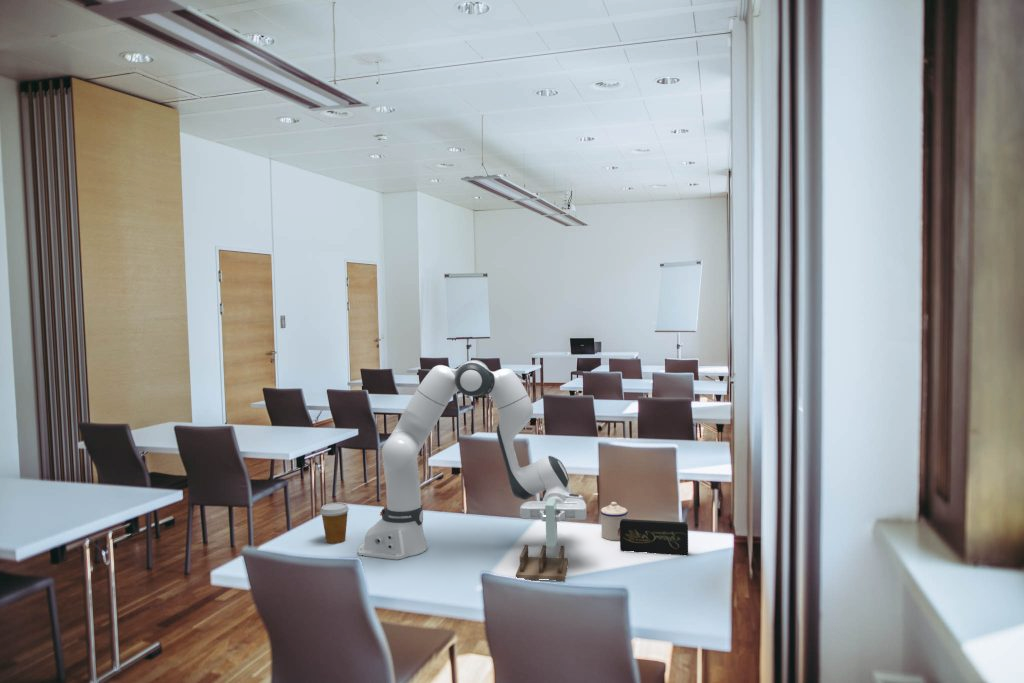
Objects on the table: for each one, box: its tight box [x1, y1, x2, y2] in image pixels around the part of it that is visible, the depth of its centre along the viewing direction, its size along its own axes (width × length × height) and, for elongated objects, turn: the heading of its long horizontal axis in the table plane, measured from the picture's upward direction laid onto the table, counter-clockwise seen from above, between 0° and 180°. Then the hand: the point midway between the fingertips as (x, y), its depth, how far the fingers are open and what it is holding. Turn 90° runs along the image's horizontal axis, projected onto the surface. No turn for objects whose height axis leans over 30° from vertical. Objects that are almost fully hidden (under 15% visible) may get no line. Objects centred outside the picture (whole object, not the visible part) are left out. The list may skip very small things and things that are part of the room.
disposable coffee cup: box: [319, 502, 350, 545], centre depth 231 cm, size 10×10×12 cm
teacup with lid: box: [600, 501, 629, 541], centre depth 228 cm, size 12×9×12 cm
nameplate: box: [619, 518, 689, 556], centre depth 212 cm, size 21×2×10 cm, turn 75°
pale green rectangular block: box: [545, 499, 558, 547], centre depth 198 cm, size 2×7×12 cm, turn 170°
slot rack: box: [515, 544, 569, 583], centre depth 199 cm, size 14×14×6 cm
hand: (550, 518), depth 197 cm, fingers closed on pale green rectangular block, 2 cm apart
